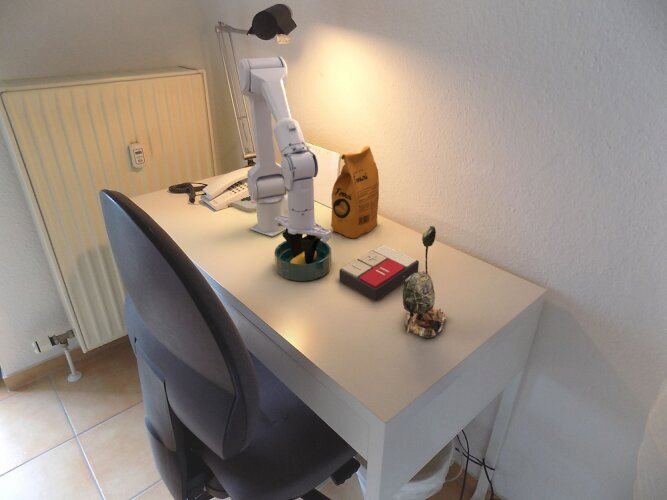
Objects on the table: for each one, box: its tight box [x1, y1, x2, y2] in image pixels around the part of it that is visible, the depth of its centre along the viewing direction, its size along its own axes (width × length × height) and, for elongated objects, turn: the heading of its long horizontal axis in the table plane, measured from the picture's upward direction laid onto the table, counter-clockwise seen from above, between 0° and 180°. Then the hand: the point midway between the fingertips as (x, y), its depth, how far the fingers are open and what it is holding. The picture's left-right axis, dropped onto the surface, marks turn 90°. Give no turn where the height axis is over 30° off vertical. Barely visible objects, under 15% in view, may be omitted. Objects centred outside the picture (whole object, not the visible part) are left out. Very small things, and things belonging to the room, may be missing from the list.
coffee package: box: [330, 145, 380, 239], centre depth 115 cm, size 10×12×22 cm
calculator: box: [338, 244, 420, 302], centre depth 97 cm, size 11×4×15 cm
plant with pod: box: [402, 225, 447, 339], centre depth 79 cm, size 8×11×20 cm
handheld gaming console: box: [230, 196, 257, 213], centre depth 136 cm, size 10×2×15 cm
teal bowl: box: [274, 239, 332, 282], centre depth 101 cm, size 13×13×4 cm
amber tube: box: [290, 251, 317, 264], centre depth 101 cm, size 10×3×3 cm, turn 145°
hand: (303, 259), depth 101 cm, fingers closed on amber tube, 3 cm apart
